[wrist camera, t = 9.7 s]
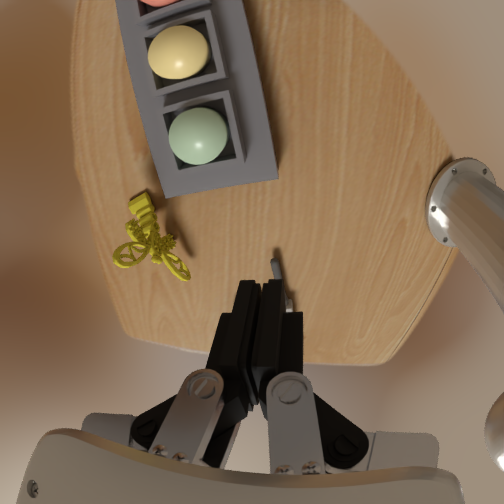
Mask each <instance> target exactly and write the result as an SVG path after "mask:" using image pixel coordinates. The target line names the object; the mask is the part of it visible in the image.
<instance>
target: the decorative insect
mask: <svg viewBox="0 0 504 504" xmlns="http://www.w3.org/2000/svg"><path fill="white" fill-rule="evenodd" d="M128 205H129V209H130V211H131V212H132V214H136V216H137V217H138V219H139V221H138V220H137V221H135V219H132V220H130V221H129V222H127V223H126V224H125V226H126V231H127V233H128V235H129V236H130V237H131V239H132V240H133V241H134V242H129V243H125V244H123V245H121V246H119V247H118V248H117V249H116V250H115V251H114V253H113V256H112V258H113V262H114V264H116V265H117V266H119V267H121V268H129V267H131V266H133V265H136V264H138V263H139V262H141V261H142V260H143V259H144V258H145V257H146V255H147V254H148V253H150V254H151V255H152V262H154V263H158V264H161V263H162V261H164V263H165V264H166V266H167V267H168V268H169V269H170V271H171V272H172V273H173V274H174V275H175V276H176V277H178V278H179V279H180V280H182V281H188V280H190V278H191V276H190V272H189V270H188V268H187V267H186V265H185V264H184V263H183V262H182V261H181V260H180V259H179V258H178V257H177V256H175V255H174V254H172V253H171V252H169V250H170V249H173V247H175V244H176V241H175V242H174V240H173V239H172V237H173V235H171V236H170V234H168V235H166V236H164V237H162V238H161V237H160V234H159V233H158V232H159V229H160V227H159V224H158V223H157V222H156V221H157V215H156V214H155V213H154V210H155V208H154V206H153V205H152V203H151V199H150V196H149V194H148V193H147V192H145V193H143V194H142V195H140V196H138V197H136V198H135V199H133V200H132V201H130V202H128ZM134 221H135V222H134ZM138 222H139V224H140V226H141V227H139V225H138V224H137V223H138ZM146 238H147V239H146ZM133 246H139V247H143V248H144V249H141V250H139V249H137V248H135V247H133ZM125 247H128V250H129V253H130V255H128V254H123V255H122V254H121V255H120V253H121V251H122V250H123V249H124V248H125ZM131 248H132V249H133V250H135V252H138V253H142V252H143V254H142V255H141V256H140V257H139V258H138V259H137V260H136V258H134V257H135V256H134V255H133V253H132V250H131ZM160 256H161V257H160ZM169 256H170V257H169ZM123 257H126V258H130V259H133V261H132V262H124V261H122V260H121V259H120V258H123ZM171 257H172V258H174V259H175V260H176V261H175V260H173V259H171ZM171 261H172V262H173V263H176V264H178V263H180V266H181V267H180V269H179V270H178V269H177V268H176V267H175V266H174V265H173V263H172V262H171ZM183 268H184V269H185V270H184V269H183ZM180 271H181V272H184V273H186V275H187V276H185V275H184V274H182V273H181V272H180Z"/></svg>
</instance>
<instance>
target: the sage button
mask: <svg viewBox="0 0 504 504" xmlns="http://www.w3.org/2000/svg"><path fill="white" fill-rule="evenodd" d="M229 137H230V127H229V124H228V121H227V119H226V118H225V116H224V115H223V114H222V113H221V112H219V111H218V110H216V109H214V108H211V107H197V108H193V109H190V110H187V111H185V112H183V113H181V114H180V115H178V116H177V117H176V118H175V120H174V121H173V122H172V124H171V127H170V130H169V143H170V146H171V149H172V151H173V152H174V153H175V155H176V156H177V157H178V158H180V159H181V160H182V161H184V162H187V163H190V164H195V165H199V164H205V163H208V162H210V161H212V160H213V159H215V158H216V157H217V156H218V155H219V154H220V153H221V151H222V150H223V149H224V148H225V146H226V145H227V143H228V140H229Z"/></svg>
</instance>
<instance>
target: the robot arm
mask: <svg viewBox="0 0 504 504" xmlns="http://www.w3.org/2000/svg"><path fill="white" fill-rule="evenodd" d="M425 213H426V221H427V225H428V228H429V230H430V232H431V233H432V235H433V236H434V237H435V238H436V239H437V241H438V242H440V243H441V244H443V245H445V246H448V247H457V248H458V249H459V250H460V251H461V253H462V254H463V255H464V256H465V257H466V259H467V260H468V262H469V263H470V264H471V266H472V267H473V268H474V270H475V271H476V272H477V274H478V275H479V277H480V278H481V279H482V281H483V282H484V284H485V285H486V287H487V288H488V289H489V291H490V292H491V294H492V295H493V297H494V299H495V300H496V302H497V303H498V305H499V306H500V308H501V310H502V311H503V313H504V191H503V190H502V189H500V188H499V187H497V186H496V182H495V179H494V176H493V174H492V172H491V171H490V170H489V168H488V167H487V166H486V165H485V164H483V163H482V162H480V161H478V160H476V159H473V158H460V159H456V160H454V161H452V162H450V163H449V164H448V165H447V166H445V167H444V168H443V169H442V170H441V171H440V173H439V174H438V175H437V177H436V178H435V180H434V181H433V183H432V185H431V188H430V190H429V193H428V196H427V200H426V207H425ZM259 402H260V405H261V409H262V412H263V415H264V418H265V419H266V420H267V421H268V435H269V453H270V473H271V474H261V473H250V472H240V471H232V470H224V467H225V465H226V463H227V460H228V457H229V455H230V452H231V449H232V447H233V444H234V441H235V438H236V436H237V433H238V430H239V427H240V424H241V420H242V419H244V418H245V417H247V414H248V411H253V406H254V405H258V403H259ZM484 436H485V443H486V447H487V450H488V452H489V455H490V456H491V458H492V460H493V461H494V462H495V464H496V465H497V466H498V467H499V468H500V469H501V470H502V471H503V472H504V392H503V393H502V394H501V395H500V396H499V397H498V399H497V400H496V401H495V402H494V404H493V405H492V407H491V409H490V411H489V413H488V415H487V418H486V422H485V428H484ZM438 455H439V442H438V441H437V439H436V437H434V436H433V435H432V434H428V433H400V432H382V431H376V433H373V432H363V431H362V430H361V429H360V428H359V427H357V426H356V425H354V424H353V423H352V422H351V421H349V420H348V419H347V418H345V417H344V416H343V415H341V414H340V413H339V412H337V411H336V410H335V409H334V408H332V407H331V406H330V405H329V404H327V403H326V402H325V401H324V400H322V399H321V398H319V396H317V395H316V394H315V393H314V392H313V388H312V385H311V382H310V381H309V380H308V378H307V377H305V376H304V375H303V312H286V303H285V293H284V283H283V279H269V281H268V283H264V284H263V289H262V292H261V286H260V283H257V284H256V283H255V280H241V281H240V283H239V286H238V290H237V294H236V298H235V302H234V306H233V310H232V313H222V314H221V316H220V319H219V323H218V326H217V330H216V333H215V337H214V340H213V344H212V347H211V350H210V354H209V357H208V361H207V365H206V368H205V369H200V370H196V371H194V372H192V373H191V374H189V375H188V376H187V377H186V379H185V380H184V382H183V384H182V386H181V388H180V390H179V392H178V394H176V395H174V396H173V397H171V398H169V399H168V400H166V401H164V402H162V403H160V404H159V405H157V406H155V407H153V408H151V409H150V410H148V411H146V412H144V413H142V414H140V415H139V416H136V417H135V416H133V415H129V414H128V415H127V414H126V415H125V414H107V413H91V414H89V415H87V416H86V418H85V419H84V421H83V423H82V428H81V430H77V429H70V428H59V429H54V430H50V431H49V432H47V433H45V435H44V436H43V437H42V438H41V439H40V441H39V442H38V444H37V446H36V448H35V450H34V452H33V454H32V456H31V459H30V461H29V464H28V466H27V469H26V472H25V475H24V478H23V481H22V484H21V488H20V491H19V495H18V498H17V503H16V504H465V503H464V495H463V491H462V487H461V484H460V482H459V480H458V479H457V477H456V476H455V475H454V474H453V473H451V472H449V471H446V470H443V469H439V468H437V462H438Z"/></svg>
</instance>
